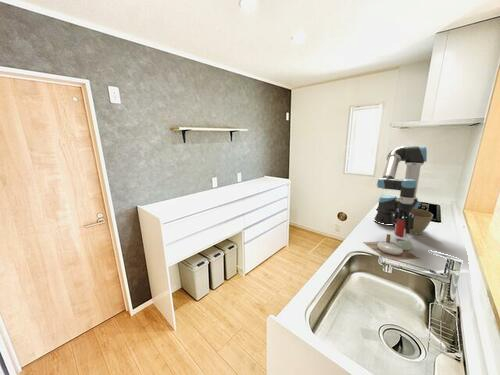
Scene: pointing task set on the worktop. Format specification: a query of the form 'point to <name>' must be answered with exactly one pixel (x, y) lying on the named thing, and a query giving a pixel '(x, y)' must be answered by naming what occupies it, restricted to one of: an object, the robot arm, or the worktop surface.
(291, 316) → the worktop surface
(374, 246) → the board
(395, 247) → the white oval dish
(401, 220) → the beer can
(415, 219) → the plant pot
